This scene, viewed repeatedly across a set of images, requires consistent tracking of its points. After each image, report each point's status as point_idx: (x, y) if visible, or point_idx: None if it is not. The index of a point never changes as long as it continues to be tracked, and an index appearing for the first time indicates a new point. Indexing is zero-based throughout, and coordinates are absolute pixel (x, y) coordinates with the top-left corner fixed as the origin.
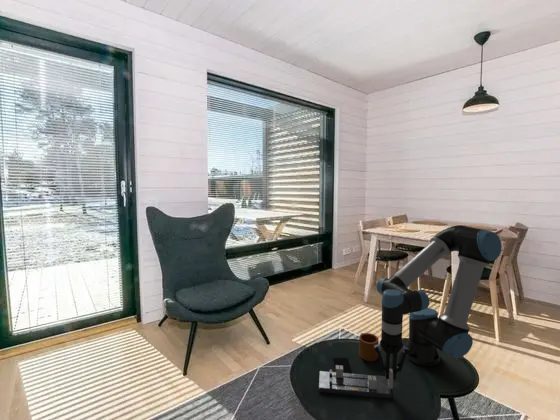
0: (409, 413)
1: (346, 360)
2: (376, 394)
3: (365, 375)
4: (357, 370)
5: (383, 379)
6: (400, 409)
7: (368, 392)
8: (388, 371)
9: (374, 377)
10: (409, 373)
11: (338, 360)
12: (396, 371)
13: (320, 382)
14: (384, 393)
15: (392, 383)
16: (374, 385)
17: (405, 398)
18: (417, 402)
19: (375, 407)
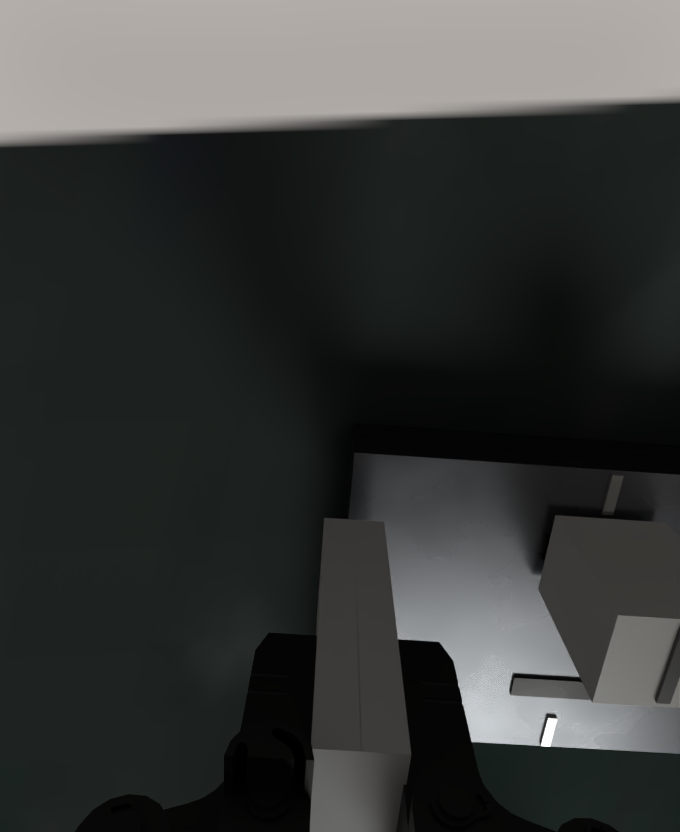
0: (172, 169)
1: None
2: (555, 454)
3: (600, 737)
4: (618, 804)
5: None
6: (281, 239)
7: (674, 469)
8: (438, 795)
9: (626, 675)
10: (48, 786)
11: None
12: (217, 802)
13: None
14: (452, 458)
15: (330, 570)
16: (606, 554)
17: (170, 435)
18: (27, 376)
19: (621, 256)
